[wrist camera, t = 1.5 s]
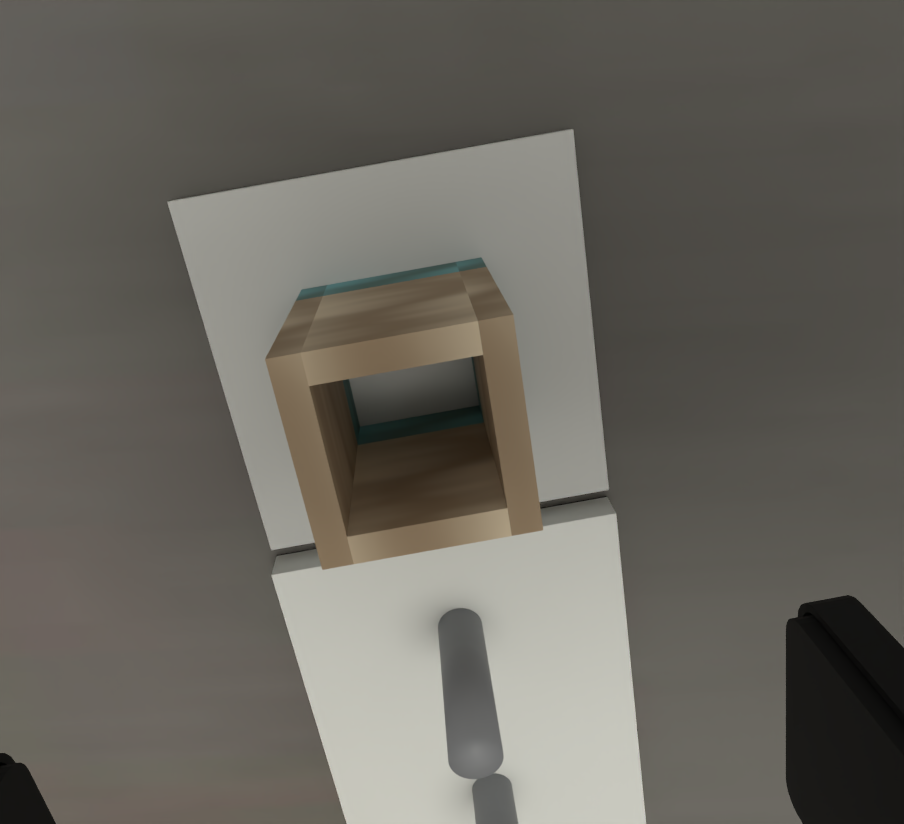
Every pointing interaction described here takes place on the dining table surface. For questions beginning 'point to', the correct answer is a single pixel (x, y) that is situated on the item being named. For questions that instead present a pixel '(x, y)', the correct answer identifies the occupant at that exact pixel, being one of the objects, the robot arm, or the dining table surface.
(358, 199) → the mat
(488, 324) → the sleeve
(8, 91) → the dining table surface
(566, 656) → the pin board
